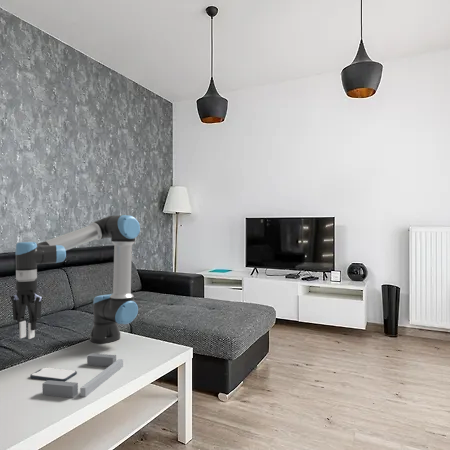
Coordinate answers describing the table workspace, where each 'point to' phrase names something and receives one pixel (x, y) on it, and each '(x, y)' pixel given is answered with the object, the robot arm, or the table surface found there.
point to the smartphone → (53, 374)
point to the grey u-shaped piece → (72, 388)
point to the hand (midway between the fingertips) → (27, 337)
